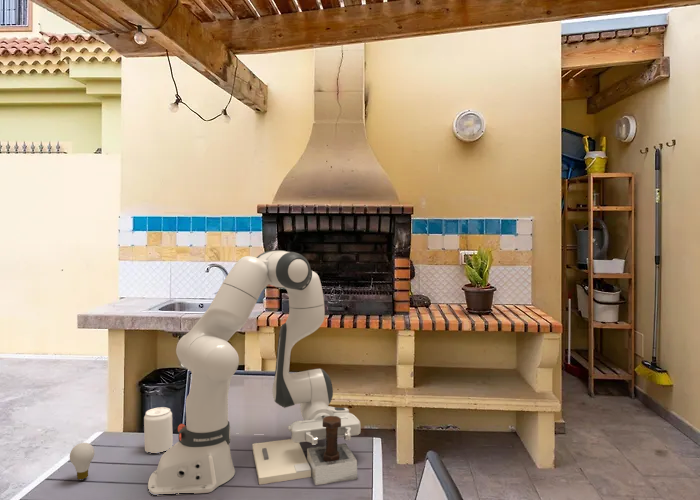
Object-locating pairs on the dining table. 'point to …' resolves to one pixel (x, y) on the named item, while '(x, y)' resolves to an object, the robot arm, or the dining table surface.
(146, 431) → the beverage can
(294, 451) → the cabinet door
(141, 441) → the dining table surface
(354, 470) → the hollow square frame
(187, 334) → the robot arm
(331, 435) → the bolt
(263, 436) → the dining table surface
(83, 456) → the light bulb
